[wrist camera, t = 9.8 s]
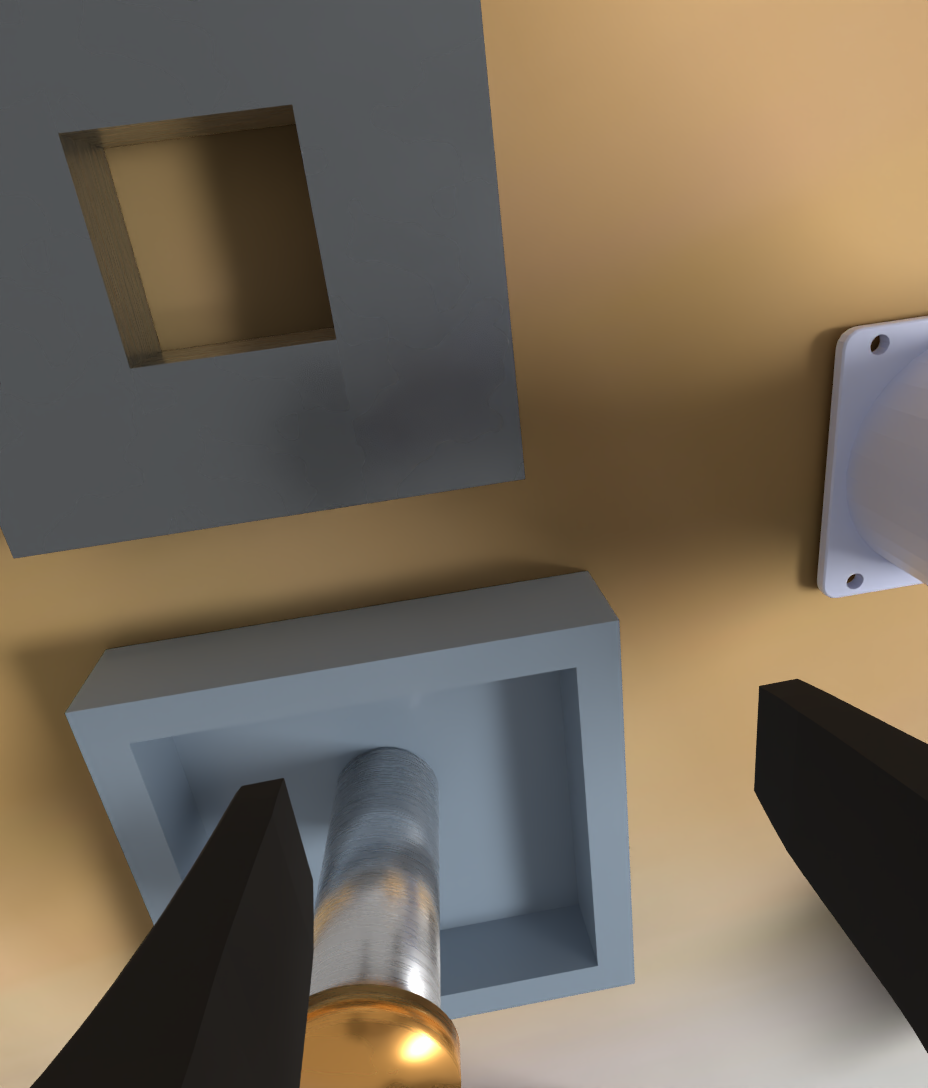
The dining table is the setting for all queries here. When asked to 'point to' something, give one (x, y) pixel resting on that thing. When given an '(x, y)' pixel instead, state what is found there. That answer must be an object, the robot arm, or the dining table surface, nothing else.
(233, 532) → the dining table surface
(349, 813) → the pin
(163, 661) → the tray
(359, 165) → the grey square frame
